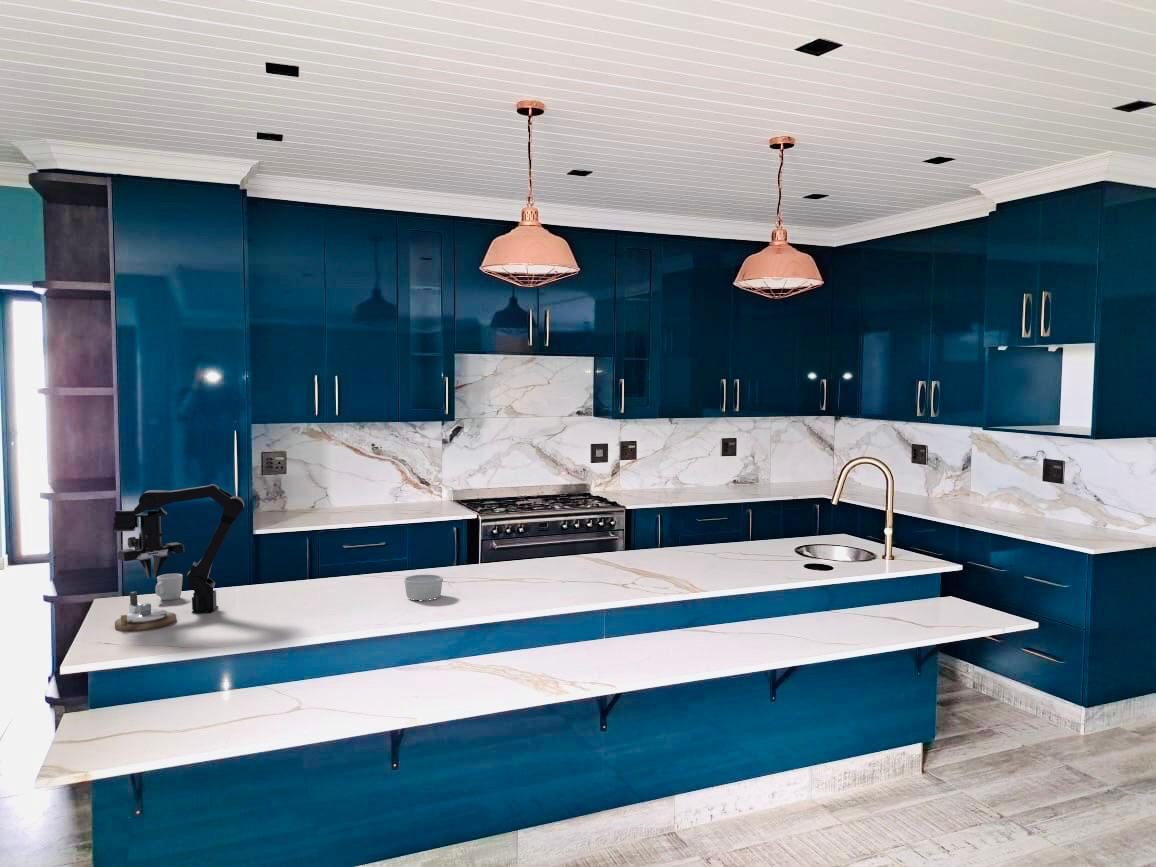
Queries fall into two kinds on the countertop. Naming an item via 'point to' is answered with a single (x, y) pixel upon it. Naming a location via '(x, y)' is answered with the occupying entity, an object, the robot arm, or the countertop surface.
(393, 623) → the countertop surface
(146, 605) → the light grey irregular piece
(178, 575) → the cup
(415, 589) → the ramekin
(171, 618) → the plinth
